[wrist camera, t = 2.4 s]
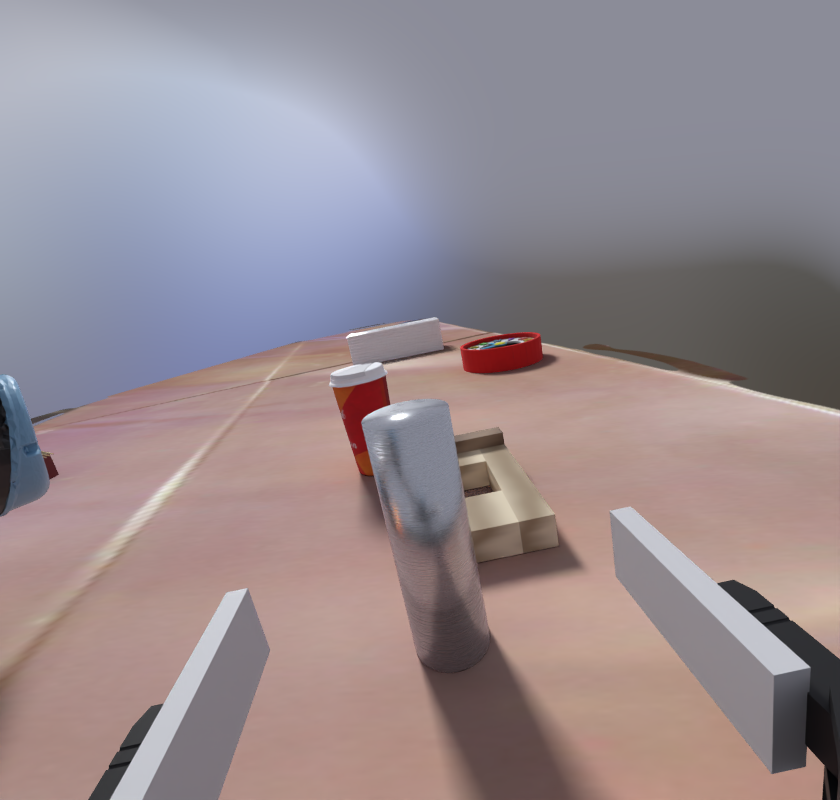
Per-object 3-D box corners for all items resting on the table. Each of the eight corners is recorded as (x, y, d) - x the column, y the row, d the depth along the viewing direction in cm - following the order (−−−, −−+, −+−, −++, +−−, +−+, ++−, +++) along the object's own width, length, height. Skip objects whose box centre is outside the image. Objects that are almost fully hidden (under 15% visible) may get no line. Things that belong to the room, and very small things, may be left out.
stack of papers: (354, 368, 145) (346, 337, 142) (356, 362, 155) (349, 334, 152) (444, 349, 146) (438, 319, 143) (440, 345, 156) (435, 317, 153)
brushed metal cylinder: (417, 680, 25) (357, 436, 21) (413, 617, 30) (364, 409, 26) (498, 663, 25) (454, 417, 21) (481, 603, 30) (443, 393, 26)
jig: (405, 577, 34) (394, 530, 33) (401, 481, 52) (393, 448, 51) (558, 545, 35) (552, 497, 33) (503, 460, 52) (498, 427, 51)
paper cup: (368, 454, 63) (347, 364, 59) (415, 454, 59) (395, 358, 56) (340, 479, 56) (314, 379, 52) (391, 480, 53) (366, 373, 49)
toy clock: (558, 332, 100) (490, 352, 93) (560, 356, 102) (493, 377, 94) (506, 331, 118) (446, 348, 110) (509, 352, 120) (449, 369, 112)
